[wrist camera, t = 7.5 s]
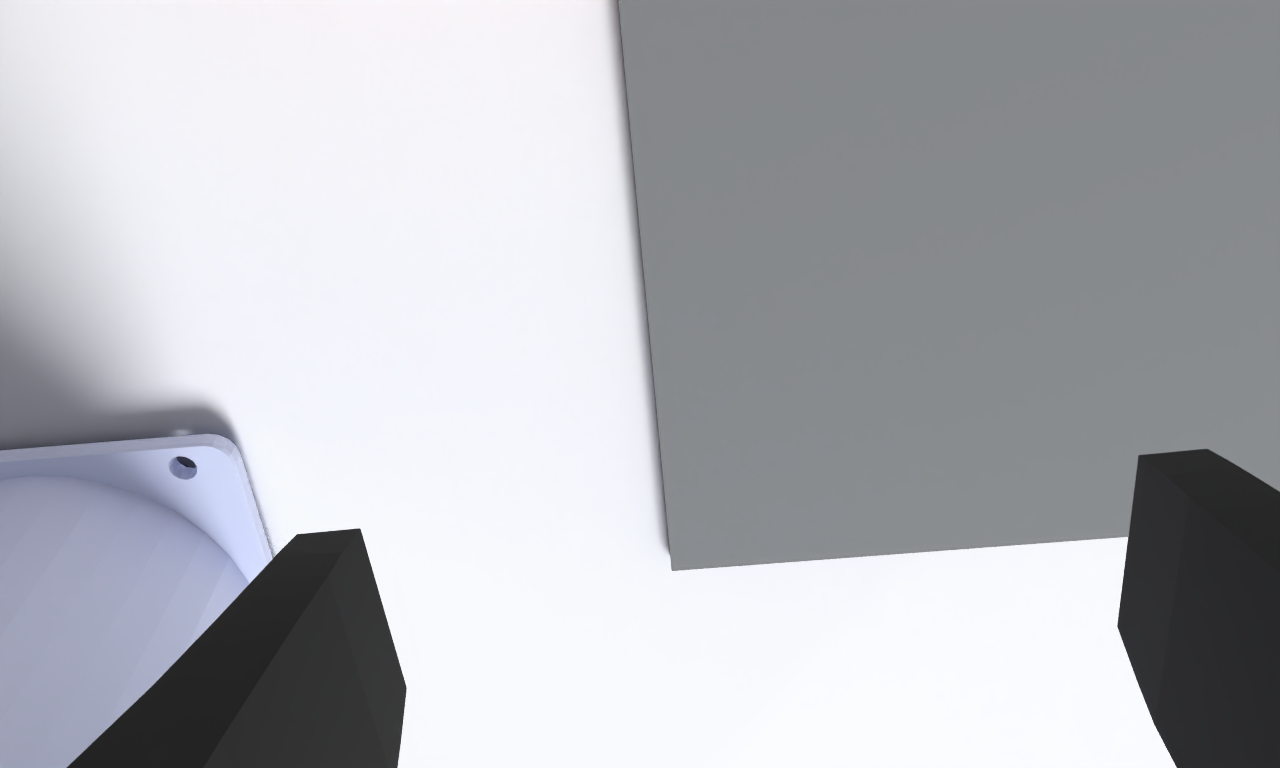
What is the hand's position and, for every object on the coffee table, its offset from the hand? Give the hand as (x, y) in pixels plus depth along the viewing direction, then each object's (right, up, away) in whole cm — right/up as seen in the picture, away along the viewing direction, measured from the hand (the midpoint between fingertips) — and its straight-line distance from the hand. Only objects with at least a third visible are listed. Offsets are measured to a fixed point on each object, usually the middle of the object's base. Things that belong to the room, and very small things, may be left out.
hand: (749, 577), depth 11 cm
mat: (+6, +5, +9) cm, 12 cm away
